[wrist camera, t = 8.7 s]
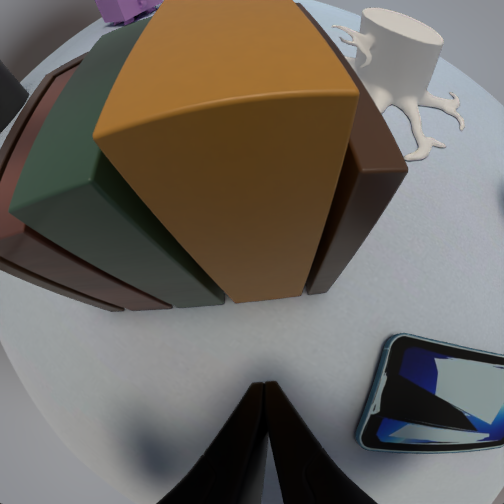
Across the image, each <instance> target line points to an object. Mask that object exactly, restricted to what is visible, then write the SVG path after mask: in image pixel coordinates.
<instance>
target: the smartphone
mask: <svg viewBox="0 0 504 504" xmlns="http://www.w3.org/2000/svg"><path fill="white" fill-rule="evenodd" d="M355 437H356V441H357V443H358V444H359V445H360V446H361V447H362V448H363V449H365V450H369V451H379V452H392V453H414V454H438V453H459V452H471V451H480V450H488V449H495V448H500V447H503V446H504V355H502V354H497V353H492V352H487V351H482V350H477V349H472V348H468V347H463V346H459V345H455V344H451V343H447V342H441V341H437V340H433V339H428V338H424V337H420V336H416V335H412V334H408V333H400V334H396V335H393V336H392V337H390V338H389V339H388V341H387V342H386V344H385V346H384V349H383V353H382V357H381V360H380V364H379V367H378V371H377V374H376V377H375V380H374V383H373V386H372V390H371V393H370V395H369V398H368V401H367V404H366V407H365V410H364V412H363V415H362V418H361V420H360V423H359V425H358V428H357V430H356V435H355Z"/></svg>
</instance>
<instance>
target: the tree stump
mask: <svg viewBox="0 0 504 504" xmlns="http://www.w3.org/2000/svg"><path fill="white" fill-rule="evenodd" d="M332 27H337V28H339V29H341V30H344V31H345V32H346V33H348V34H349V35H350V36H351V37H352V39H353V41H352V42H351V41H347V40H344V39H343V38H341V37H339V38H340V39H341V41H342V42H344V43H346V44H349V45H352V46H356V47H357V53H356V58H351V57H346V56H344V57H345V58H346V59H347V61H348V62H349V64H350V65H351V67H352V68H353V69H354V71H355V72H356V74H357V75H358V77H359V78H360V80H361V81H362V83H363V85H364V86H365V88H366V89H367V91H368V92H369V94H370V96H371V97H372V99H373V101H374V102H375V104H376V106H377V107H378V109H379V111H380V113H381V114H382V113H383V112H384V111H385V109H386V108H387V107H388V106H390V105H391V104H393V105H395V106H398V107H399V108H400V109H402V110H403V111H404V113H405V114H406V115H407V116H408V118H409V119H410V121H411V125H412V132H413V134H414V136H415V138H416V141H417V143H418V146H419V147H418V149H417V150H416V151H415V152H413V153H410V154H408V155H406V156H404V159H405V160H407V161H413V160H422V159H424V158H426V157H427V156H428V155H429V152H430V150H431V147H432V146H433V145H434V146H437V147H441V148H446V146H445V144H443V143H440V142H438V141H437V140H435V139H433V138H432V137H425V136H424V134H423V132H422V127H421V125H422V121H421V117H420V114H419V109H418V105H419V106H428V107H434V108H439V109H441V110H444V112H446V113H448V114H450V115H452V116H454V117H456V118H457V119H458V121H459V122H460V130H461V131H462V130H463V128H464V127H465V123H464V120H463V118H462V117H461V115H459V114H458V113H457V112H456V109H457V108H458V107H459V106H460V101H459V98H458V97H457V96H456V95H455V94H454V93H452V92H449V94H451V95H452V96H453V97H454V99H453V100H448V99H442V98H439V97H436V96H433V95H431V94H430V93H429V92H428V91H427V88H428V85H429V82H430V80H431V77H432V75H433V72H434V69H435V66H436V64H437V61H438V58H439V55H440V52H441V49H442V46H443V43H444V41H443V39H442V37H441V36H440V35H439V34H438V33H437V32H436V31H435V30H433V29H432V28H430V27H429V26H427V25H425V24H423V23H422V22H419V21H418V20H416V19H414V18H411V17H410V16H407V15H404V14H401V13H397V12H395V11H391V10H386V9H382V8H366V9H364V10H363V11H362V16H361V25H360V32H357V31H354V30H351V29H349V28H347V27H342V26H335V25H333V26H332Z"/></svg>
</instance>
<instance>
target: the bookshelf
mask: <svg viewBox="0 0 504 504" xmlns="http://www.w3.org/2000/svg"><path fill="white" fill-rule="evenodd" d="M295 4H296V5H297V6H298V7H299V8H300V9H301V11H302V12H303V13H304V14H305V15H306V16H307V18H308V19H309V20H310V21H311V22H312V24H313V25H314V26H315V27H316V29H317V30H318V31H319V33H320V34H321V35H322V36H323V38H324V39H325V40H326V42H327V43H328V45H329V46H330V47H331V49H332V50H333V51H334V53H335V54H336V56H337V57H338V59H339V60H340V62H341V63H342V65H343V66H344V68H345V69H346V71H347V72H348V74H349V75H350V77H351V78H352V80H353V82H354V83H355V85H356V87H357V88H358V90H359V93H360V94H359V100H358V105H357V109H356V113H355V117H354V122H353V126H352V130H351V134H350V138H349V142H348V146H347V150H346V153H345V157H344V161H343V165H342V168H341V172H340V176H339V179H338V183H337V186H336V190H335V193H334V196H333V200H332V203H331V206H330V210H329V213H328V216H327V220H326V223H325V226H324V229H323V232H322V235H321V239H320V242H319V245H318V248H317V251H316V254H315V257H314V260H313V263H312V266H311V268H310V271H309V274H308V277H307V280H306V285H307V292H308V294H309V295H311V294H319V293H326V292H327V291H328V290H329V289H330V287H331V286H332V285H333V283H334V282H335V281H336V279H337V278H338V277H339V275H340V274H341V273H342V271H343V270H344V269H345V267H346V266H347V264H348V263H349V262H350V260H351V259H352V257H353V256H354V255H355V253H356V252H357V250H358V249H359V248H360V246H361V245H362V243H363V242H364V240H365V239H366V237H367V236H368V234H369V233H370V232H371V230H372V229H373V227H374V226H375V224H376V223H377V221H378V219H379V218H380V216H381V215H382V213H383V212H384V210H385V209H386V207H387V206H388V204H389V202H390V201H391V199H392V198H393V196H394V194H395V193H396V191H397V190H398V188H399V186H400V185H401V183H402V181H403V180H404V178H405V176H406V175H407V173H408V166H407V164H406V162H405V160H404V158H403V155H402V153H401V151H400V149H399V147H398V145H397V143H396V141H395V139H394V137H393V135H392V133H391V131H390V129H389V127H388V125H387V124H386V122H385V120H384V118H383V116H382V115H381V113H380V111H379V109H378V107H377V106H376V104H375V102H374V101H373V99H372V97H371V96H370V94H369V92H368V91H367V89H366V88H365V86H364V85H363V83H362V81H361V80H360V78H359V77H358V75H357V74H356V72H355V71H354V69H353V68H352V67H351V65H350V64H349V62H348V61H347V59H346V58H345V57H344V55H343V54H342V53H341V51H340V50H339V49H338V47H337V46H336V45H335V43H334V42H333V41H332V39H331V38H330V37H329V36H328V34H327V33H326V32H325V31H324V30H323V28H322V27H321V26H320V25H319V24H318V22H317V21H316V20H315V19H314V18H313V17H312V16H311V14H310V13H309V12H308V11H307V10H306V9H305V8H304V7H303V6H302V5H301V4H300V3H295ZM152 17H153V16H152ZM152 17H149V18H146V19H143V20H140V21H137V22H134V23H132V24H129V25H126V26H124V27H121V28H119V29H116V30H114V31H112V32H109V33H107V34H105V35H103V36H101V38H100V39H99V40H98V41H97V42H96V44H95V45H94V46H93V47H92V49H91V50H90V51H89V52H87V53H85V54H83V55H81V56H79V57H77V58H75V59H73V60H71V61H69V62H68V63H66V64H64V65H62V66H61V67H59V68H57V69H55V70H54V71H52V72H50V73H49V74H47V75H46V76H45V77H44V78H43V80H42V81H41V83H40V84H39V85H38V87H37V88H36V90H35V91H34V92H33V94H32V95H31V97H30V98H29V100H28V101H27V103H26V105H25V106H24V108H23V109H22V111H21V113H20V114H19V116H18V118H17V119H16V121H15V123H14V124H13V126H12V128H11V130H10V132H9V134H8V135H7V137H6V139H5V141H4V143H3V145H2V147H1V149H0V270H2V271H4V272H6V273H9V274H11V275H13V276H15V277H18V278H20V279H22V280H25V281H27V282H30V283H32V284H34V285H37V286H39V287H42V288H44V289H47V290H50V291H52V292H55V293H58V294H60V295H63V296H66V297H69V298H71V299H74V300H77V301H80V302H83V303H86V304H89V305H92V306H95V307H98V308H101V309H104V310H108V311H111V312H113V311H124V308H126V309H129V310H132V311H137V310H156V309H171V308H172V305H173V306H176V307H178V308H186V307H199V306H211V305H222V304H224V291H223V290H222V289H221V288H220V287H219V286H218V285H217V284H216V282H215V281H214V280H213V279H212V278H211V277H210V276H209V275H208V274H207V273H206V272H205V271H204V270H203V268H202V267H201V266H200V265H199V264H198V263H197V262H196V261H195V260H194V259H193V258H192V256H191V255H190V254H189V253H188V252H187V251H186V250H185V249H184V248H183V247H182V245H181V244H180V243H179V242H178V241H177V240H176V239H175V238H174V236H173V235H172V234H171V233H170V232H169V231H168V230H167V229H166V227H165V226H164V225H163V224H162V223H161V222H160V221H159V219H158V218H157V217H156V216H155V215H154V214H153V212H152V211H151V210H150V209H149V208H148V207H147V205H146V204H145V203H144V202H143V201H142V200H141V198H140V197H139V196H138V195H137V194H136V192H135V191H134V190H133V189H132V188H131V186H130V185H129V184H128V183H127V182H126V180H125V179H124V178H123V177H122V175H121V174H120V173H119V172H118V171H117V169H116V168H115V167H114V166H113V164H112V163H111V162H110V161H109V159H108V158H107V157H106V156H105V154H104V153H103V152H102V151H101V149H100V148H99V147H98V145H97V144H96V143H95V142H94V140H93V135H92V134H93V132H94V129H95V126H96V124H97V121H98V119H99V116H100V114H101V111H102V109H103V107H104V104H105V102H106V100H107V98H108V95H109V93H110V91H111V89H112V87H113V85H114V83H115V81H116V79H117V77H118V75H119V73H120V71H121V69H122V67H123V65H124V63H125V61H126V59H127V58H128V56H129V54H130V52H131V50H132V49H133V47H134V45H135V44H136V42H137V40H138V39H139V37H140V35H141V34H142V32H143V31H144V29H145V27H146V26H147V24H148V23H149V21H150V20H151V18H152Z"/></svg>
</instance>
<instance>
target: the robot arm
mask: <svg viewBox="0 0 504 504" xmlns="http://www.w3.org/2000/svg"><path fill="white" fill-rule="evenodd" d="M268 437H269V438H270V443H271V448H272V452H273V457H274V462H275V466H276V471H277V475H278V480H279V484H280V489H281V493H282V497H283V502H284V504H378V503H376V502H375V501H374V500H373V499H372V498H371V497H370V496H368V495H367V494H366V493H365V492H364V491H363V490H362V489H360V488H359V487H358V486H357V485H356V484H355V483H354V482H353V481H352V480H351V479H349V478H348V477H347V476H346V475H345V474H344V472H343V471H342V470H341V469H340V468H339V467H338V466H337V465H336V464H335V463H334V461H333V460H332V459H331V458H330V456H329V455H328V454H327V452H326V451H325V450H324V448H322V446H321V445H320V443H319V442H318V441H317V439H316V438H315V436H314V435H313V434H312V432H311V431H310V429H309V428H308V427H307V425H306V424H305V422H304V421H303V419H302V418H301V417H300V415H299V414H298V412H297V411H296V409H295V408H294V406H293V405H292V403H291V402H290V401H289V399H288V398H287V396H286V395H285V393H284V392H283V390H282V389H281V387H280V386H279V384H278V383H277V381H267V382H265V383H263V382H256V383H252V384H251V385H250V386H249V388H248V390H247V391H246V393H245V394H244V396H243V397H242V399H241V400H240V402H239V403H238V405H237V406H236V408H235V409H234V411H233V412H232V414H231V415H230V417H229V418H228V420H227V421H226V423H225V424H224V426H223V427H222V428H221V430H220V431H219V433H218V434H217V436H216V437H215V438H214V440H213V441H212V443H211V444H210V445H209V447H208V448H207V449H206V451H205V452H204V455H202V456H201V457H200V458H199V460H198V461H197V463H196V464H195V465H194V466H193V468H192V469H191V470H190V471H189V472H188V474H187V475H186V476H185V477H184V478H183V479H182V480H181V481H180V482H179V483H178V484H177V485H176V486H175V487H174V488H173V489H172V490H171V491H170V492H169V493H168V494H166V495H165V496H164V497H163V498H162V499H161V500H160V501H159V502H158V503H156V504H261V499H262V491H263V483H264V475H265V466H266V457H267V448H268ZM0 504H1V503H0ZM503 504H504V503H503Z"/></svg>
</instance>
